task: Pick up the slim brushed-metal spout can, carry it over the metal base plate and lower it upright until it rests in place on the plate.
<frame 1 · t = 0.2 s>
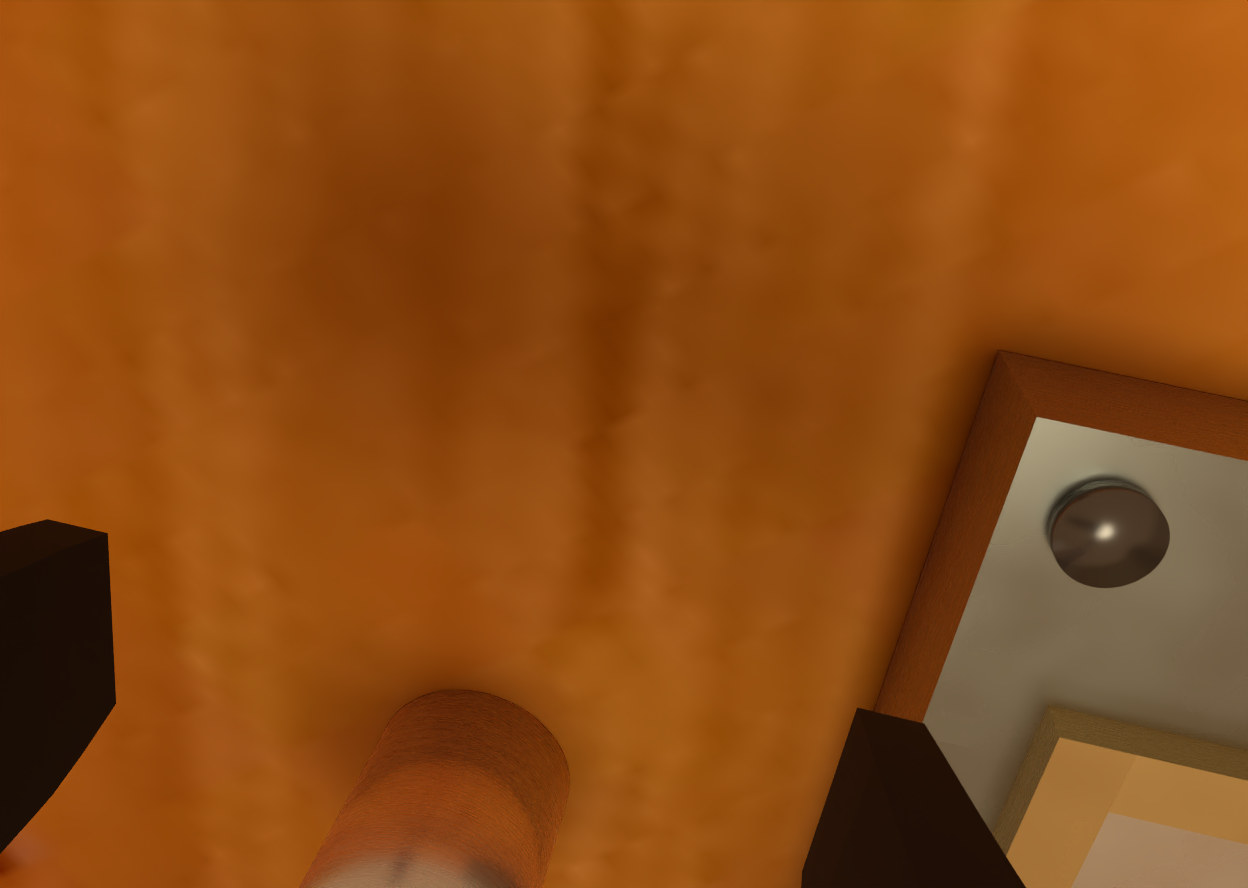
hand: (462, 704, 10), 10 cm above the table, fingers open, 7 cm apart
metal base plate: (1180, 866, 21), on the table
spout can: (474, 769, 23), on the table
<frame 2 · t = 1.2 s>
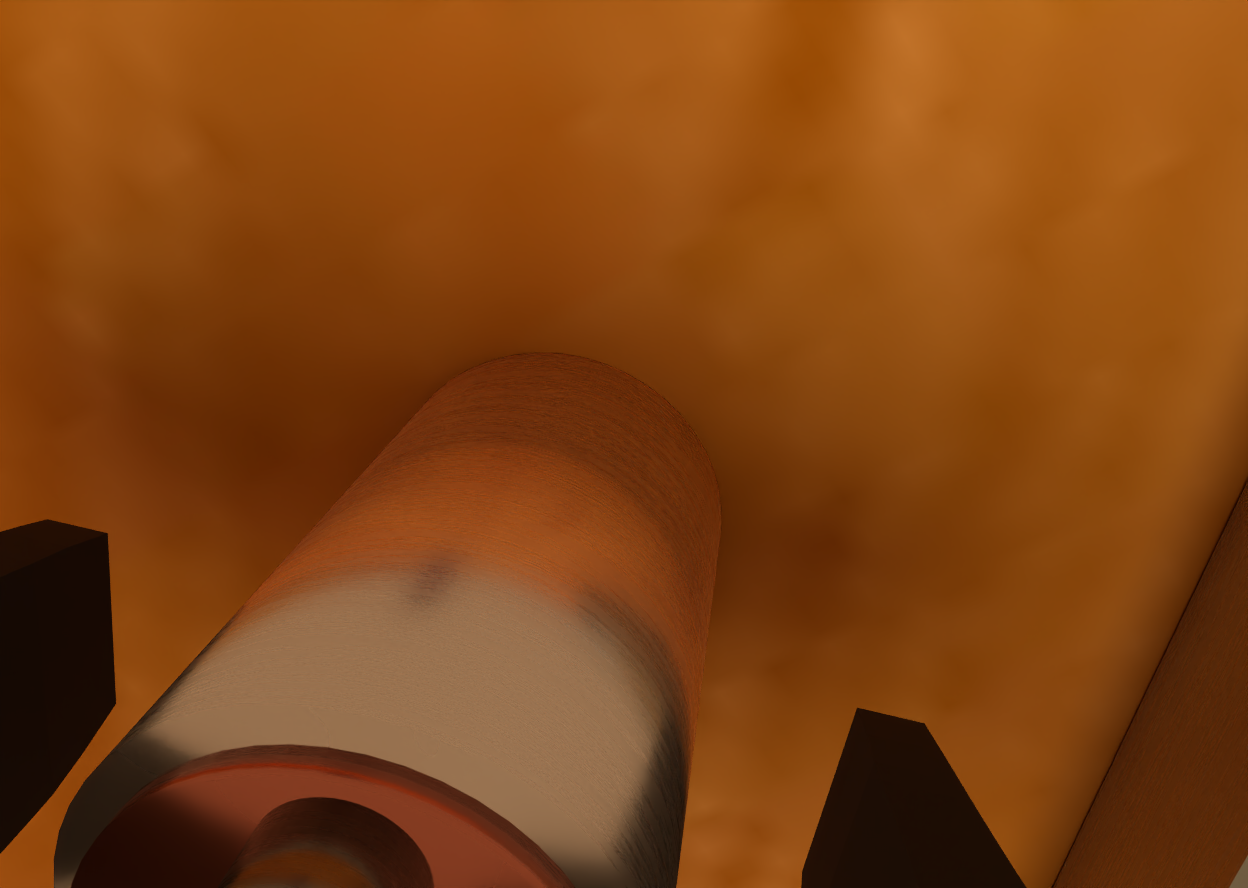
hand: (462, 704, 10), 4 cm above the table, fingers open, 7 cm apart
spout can: (554, 511, 14), on the table
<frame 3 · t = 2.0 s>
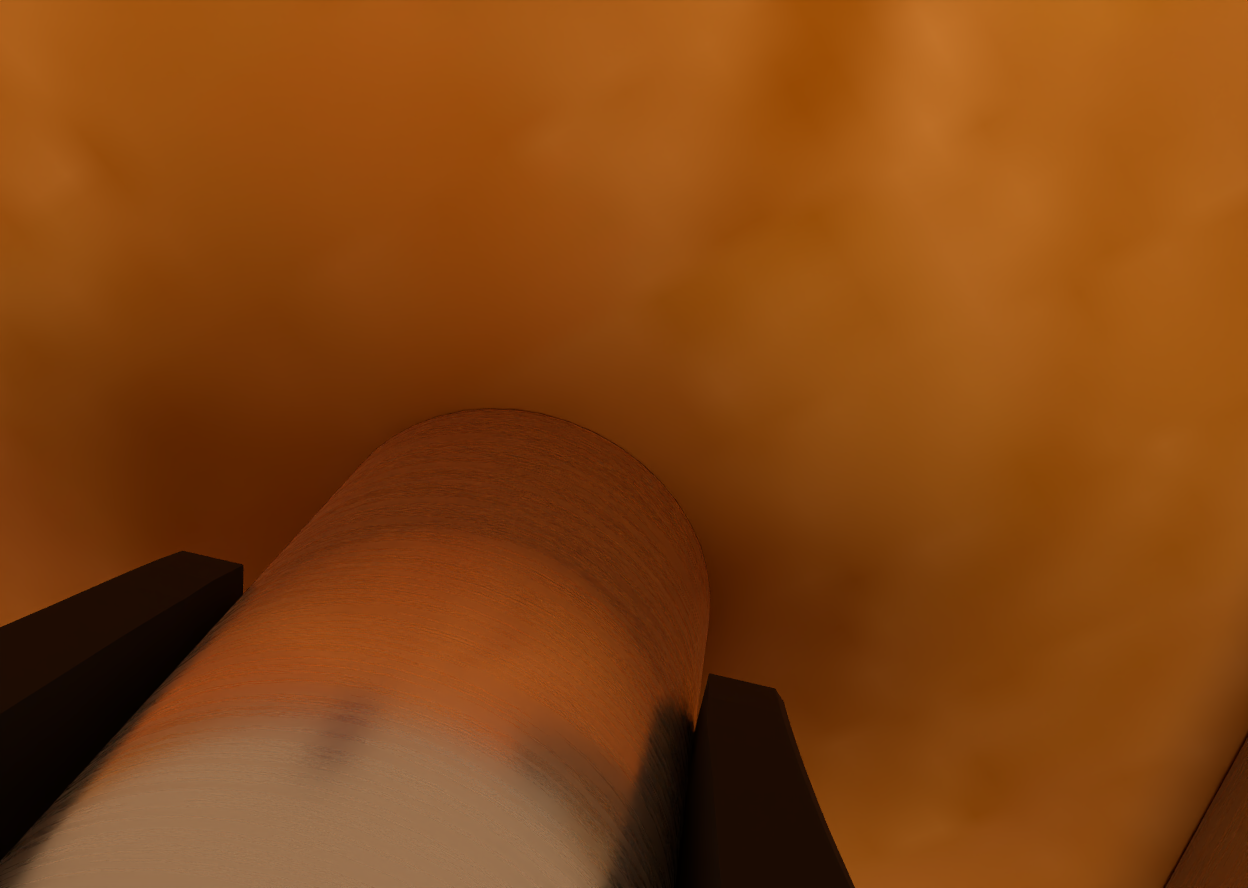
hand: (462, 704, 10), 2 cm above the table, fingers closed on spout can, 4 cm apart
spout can: (514, 591, 12), on the table, touching gripper
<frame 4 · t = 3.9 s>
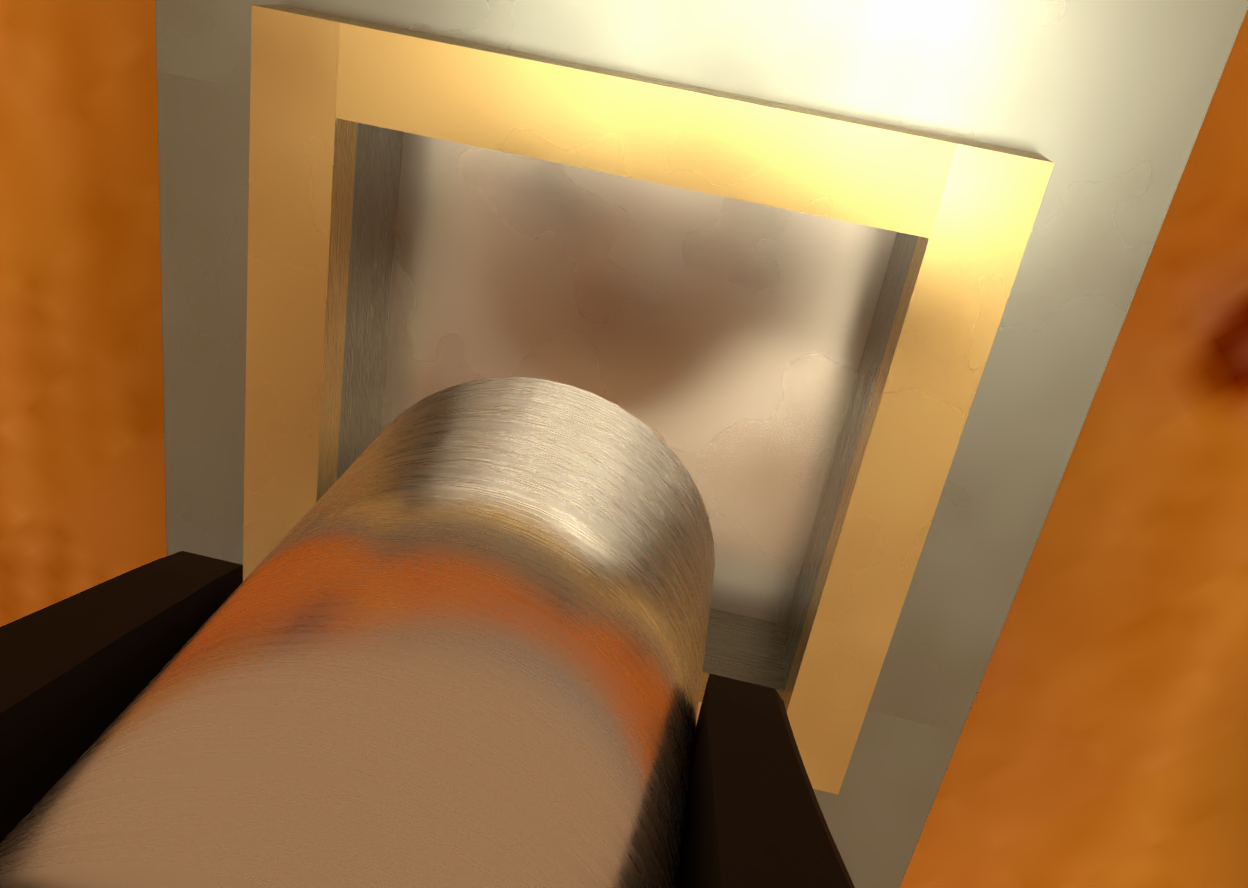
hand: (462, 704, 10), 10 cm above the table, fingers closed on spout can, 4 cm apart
metal base plate: (619, 363, 19), on the table
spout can: (528, 552, 12), point 7 cm above the table, touching gripper
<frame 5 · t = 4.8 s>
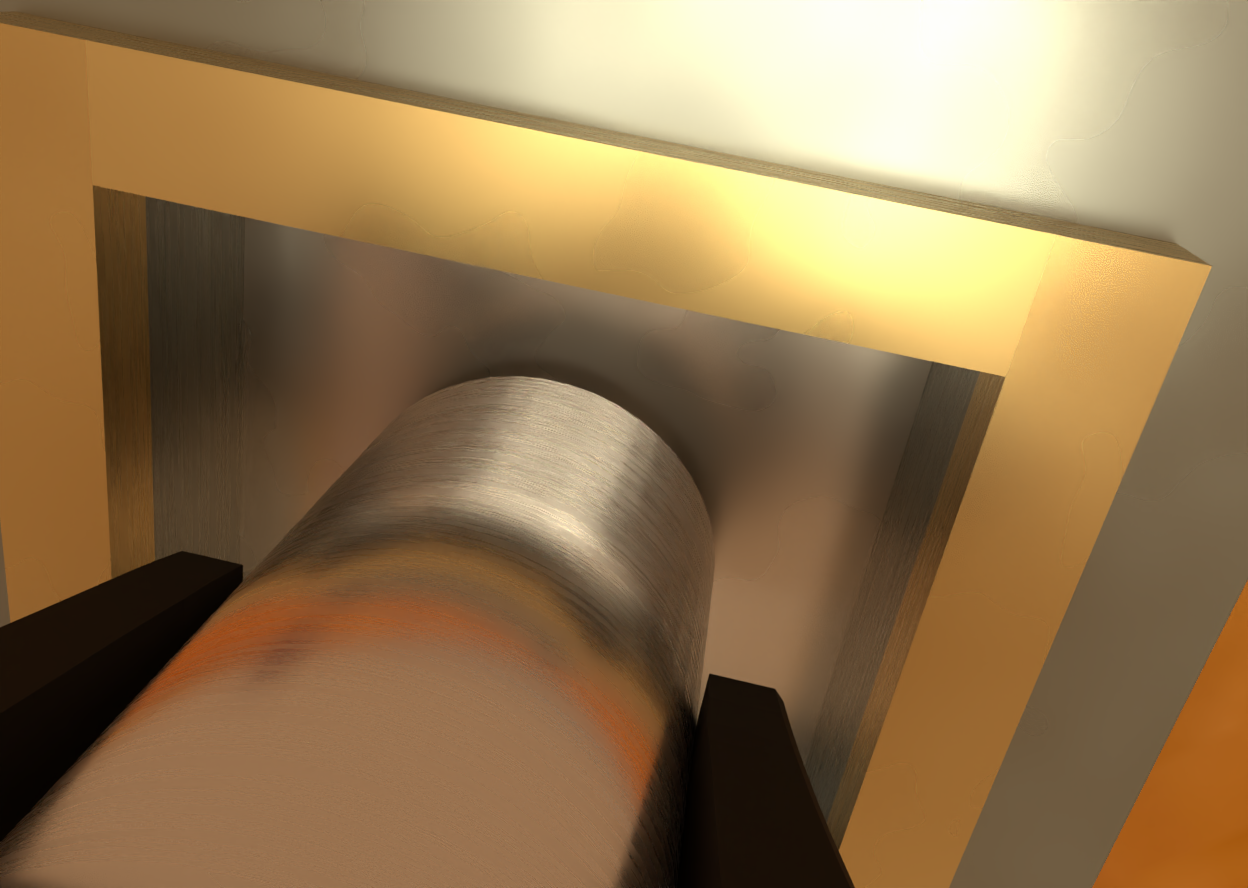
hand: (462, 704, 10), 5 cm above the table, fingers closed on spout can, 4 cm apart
metal base plate: (559, 492, 14), on the table
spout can: (528, 552, 12), point 2 cm above the table, touching gripper
when the fingers open (4 cm above the table, at t = 5.7 s): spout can stays where it is, resting on metal base plate.
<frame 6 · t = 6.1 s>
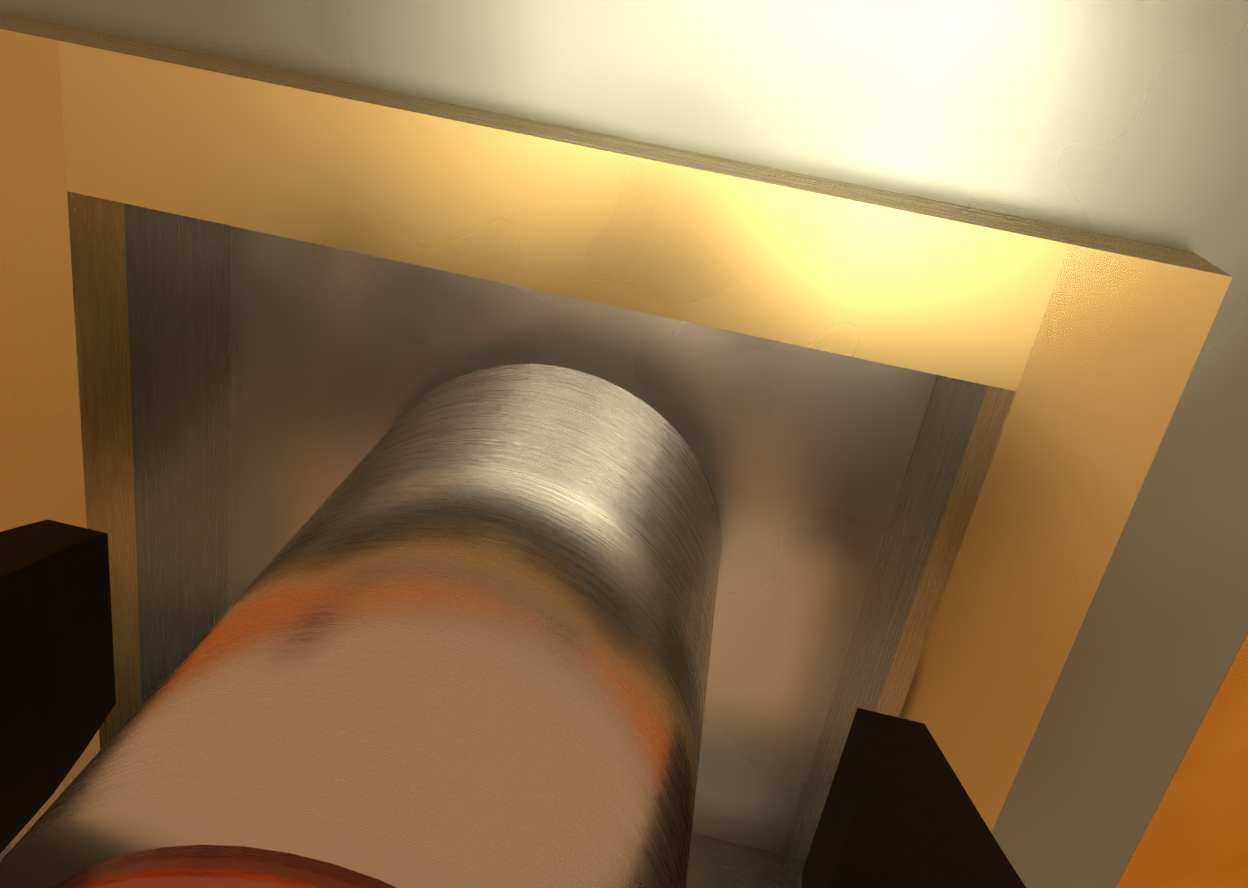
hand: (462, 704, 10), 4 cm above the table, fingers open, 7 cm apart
metal base plate: (554, 503, 14), on the table
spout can: (540, 534, 13), point 1 cm above the table, touching metal base plate
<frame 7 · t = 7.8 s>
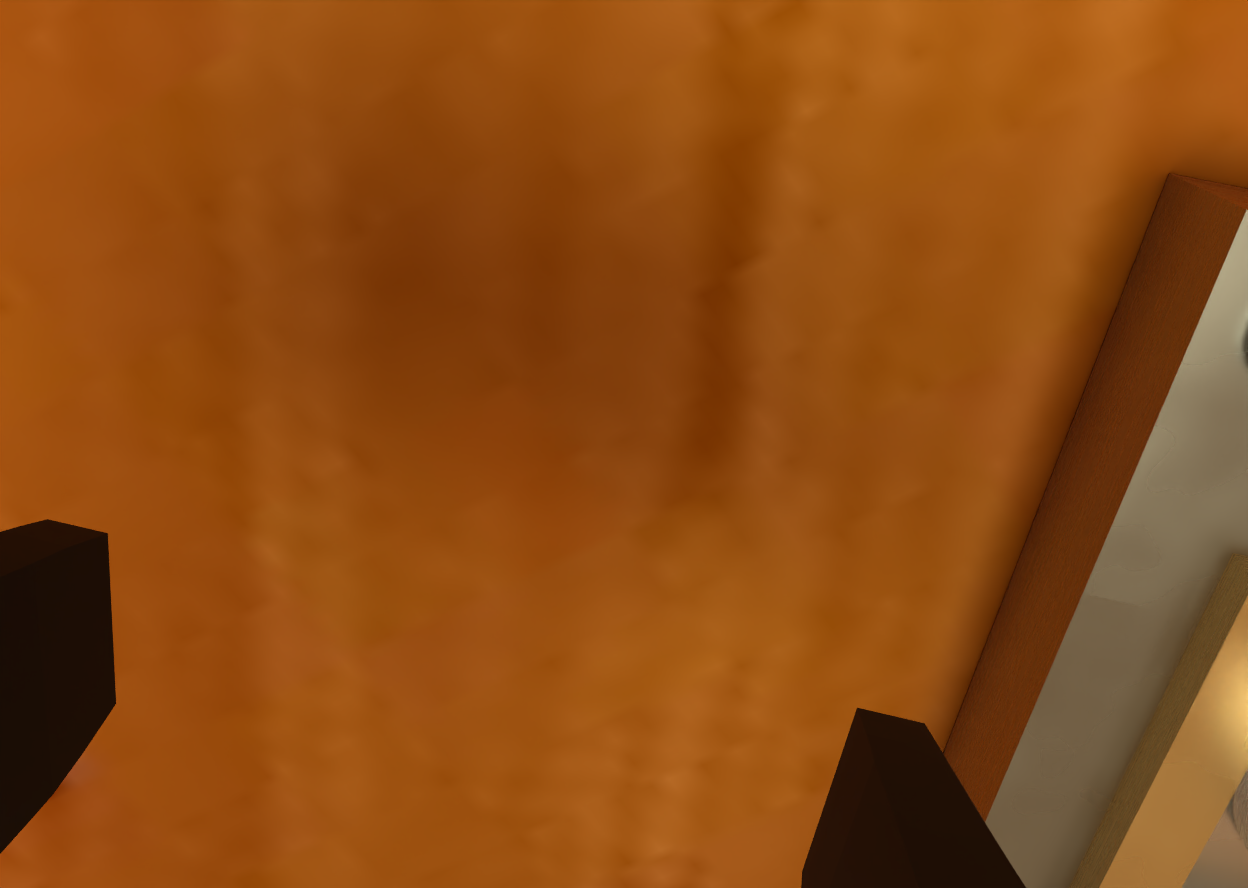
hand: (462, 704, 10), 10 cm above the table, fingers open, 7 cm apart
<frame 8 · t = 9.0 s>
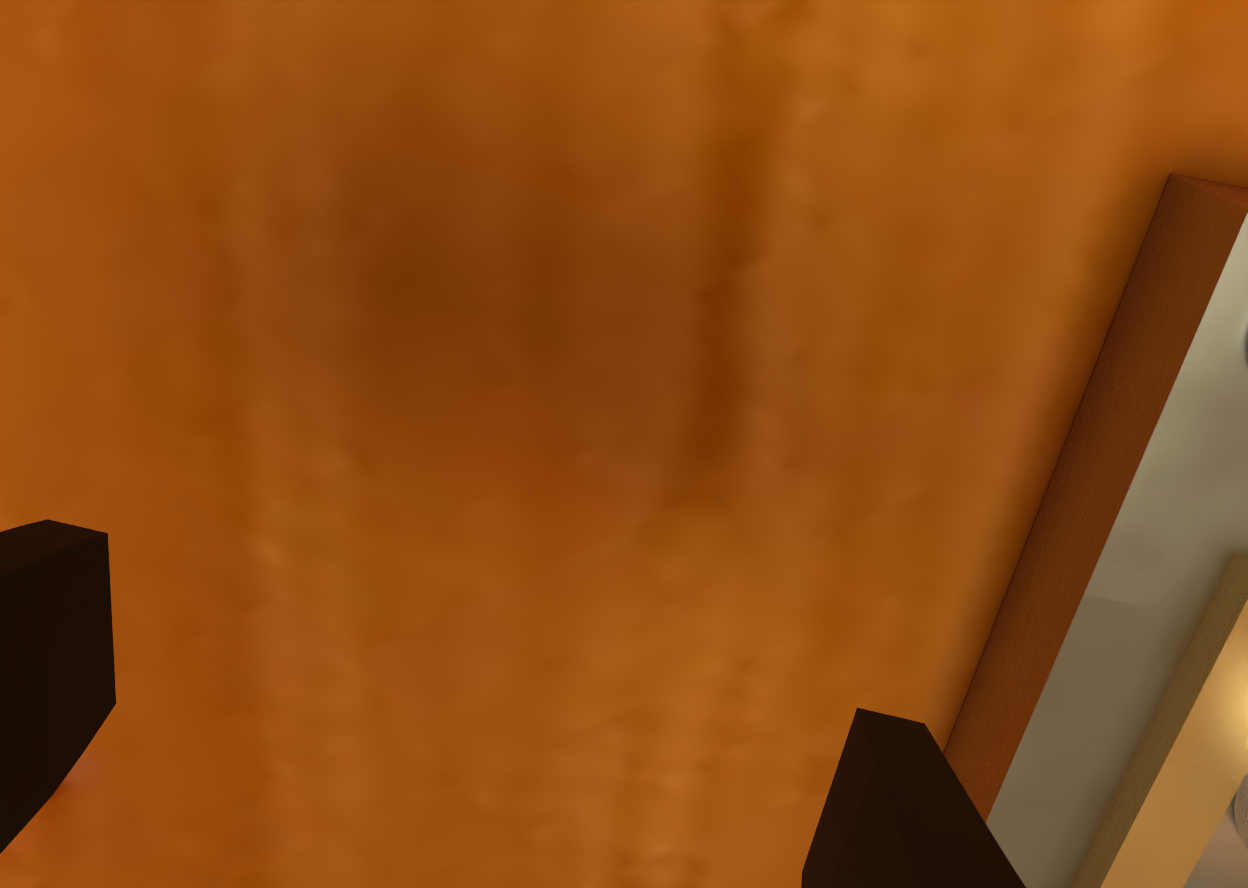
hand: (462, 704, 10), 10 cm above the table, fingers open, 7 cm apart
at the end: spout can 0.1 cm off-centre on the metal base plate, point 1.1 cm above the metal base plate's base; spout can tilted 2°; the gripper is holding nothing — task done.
